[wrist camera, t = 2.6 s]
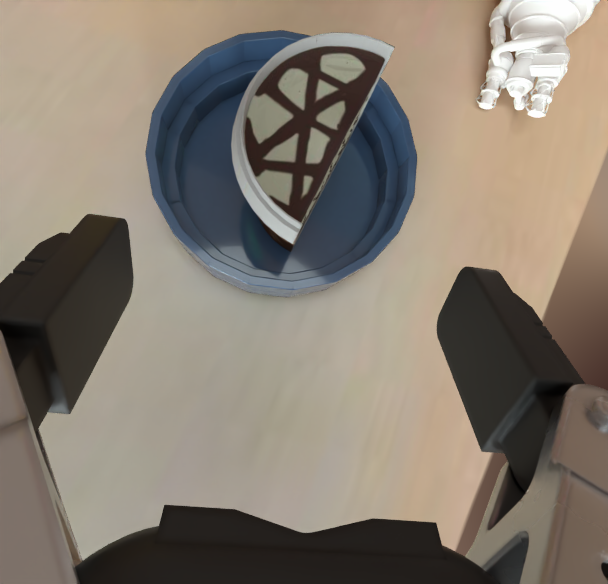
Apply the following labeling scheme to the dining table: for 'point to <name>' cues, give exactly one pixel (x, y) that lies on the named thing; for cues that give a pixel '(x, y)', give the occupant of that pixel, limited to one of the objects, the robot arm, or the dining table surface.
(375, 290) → the dining table surface
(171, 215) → the bowl
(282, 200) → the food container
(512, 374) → the robot arm
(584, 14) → the rocket engine
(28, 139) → the dining table surface
